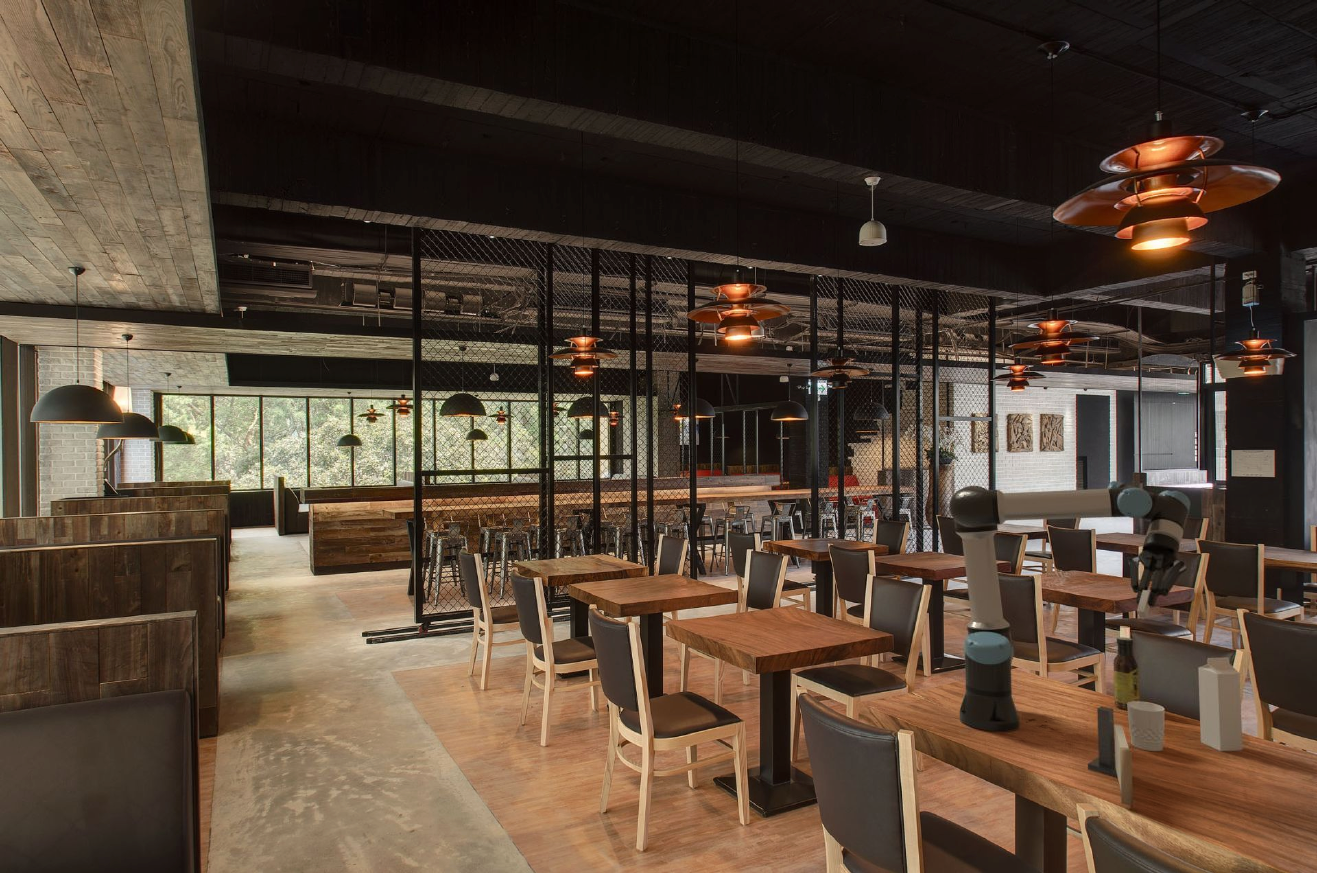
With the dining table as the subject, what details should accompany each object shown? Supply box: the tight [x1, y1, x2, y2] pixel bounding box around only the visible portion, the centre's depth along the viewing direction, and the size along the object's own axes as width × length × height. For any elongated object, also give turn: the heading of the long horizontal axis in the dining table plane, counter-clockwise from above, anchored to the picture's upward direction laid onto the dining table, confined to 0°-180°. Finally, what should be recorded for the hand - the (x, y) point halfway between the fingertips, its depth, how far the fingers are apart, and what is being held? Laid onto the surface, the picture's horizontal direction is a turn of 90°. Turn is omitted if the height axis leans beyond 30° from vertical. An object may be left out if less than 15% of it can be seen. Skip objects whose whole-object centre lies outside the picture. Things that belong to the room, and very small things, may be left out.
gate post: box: [1087, 705, 1118, 778], centre depth 172 cm, size 6×6×14 cm
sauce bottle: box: [1113, 636, 1141, 711], centre depth 215 cm, size 7×6×20 cm
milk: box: [1197, 657, 1243, 752], centre depth 186 cm, size 6×6×22 cm
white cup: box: [1127, 700, 1166, 752], centre depth 186 cm, size 8×8×10 cm
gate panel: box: [1114, 723, 1134, 807], centre depth 160 cm, size 19×2×11 cm, turn 152°
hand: (1141, 614), depth 181 cm, fingers closed
